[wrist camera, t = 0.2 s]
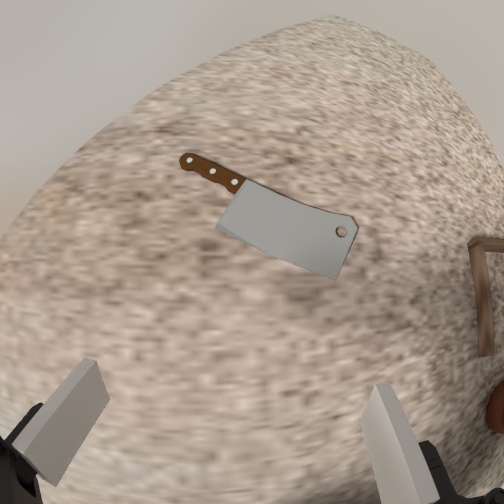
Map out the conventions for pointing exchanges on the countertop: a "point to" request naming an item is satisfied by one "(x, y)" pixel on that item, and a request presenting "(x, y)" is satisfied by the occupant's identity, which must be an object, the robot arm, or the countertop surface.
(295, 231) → the kitchen cleaver
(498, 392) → the poop emoji
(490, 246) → the walnut corral
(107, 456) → the countertop surface
